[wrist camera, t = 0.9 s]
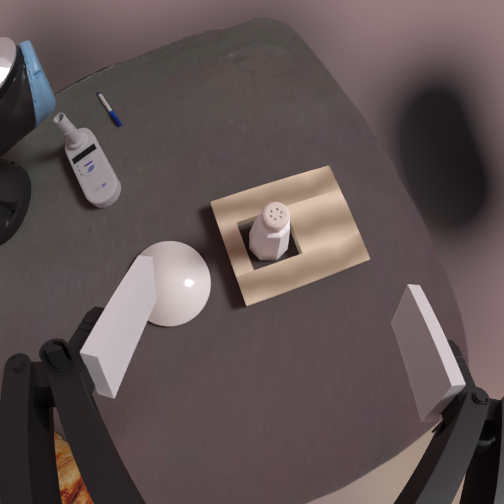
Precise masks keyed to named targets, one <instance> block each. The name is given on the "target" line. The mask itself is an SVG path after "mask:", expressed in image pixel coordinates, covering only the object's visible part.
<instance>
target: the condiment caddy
mask: <svg viewBox="0 0 504 504" xmlns="http://www.w3.org/2000/svg"><path fill="white" fill-rule="evenodd" d="M271 202H279V203H282V204H284V205H285V206H286V207H287V208H288V210H289V213H290V232H291V235H292V237H293V240H294V242H295V245H296V247H297V250H298V252H299V255H297V256H294V257H291V258H288V259H285V260H283V261H280V262H277V263H274V264H271V265H268V266H266V267H263V268H260V269H257V270H253V267H252V265H251V262H250V259H249V256H248V254H247V251H246V248H245V245H244V243H243V240H242V237H241V234H240V232H239V229H238V226H241V225H244V224H247V223H250V222H253V221H255V220H256V218H257V216H258V215H259V214H260V213H261V212H262V211H263V208H264V207H265V206H266V205H267V204H269V203H271ZM210 203H211V206H212V209H213V212H214V215H215V218H216V221H217V224H218V227H219V230H220V233H221V236H222V239H223V241H224V244H225V247H226V250H227V253H228V256H229V259H230V262H231V264H232V267H233V270H234V273H235V276H236V279H237V281H238V284H239V287H240V290H241V293H242V295H243V298H244V301H245V304H246V307H247V306H250V305H253V304H256V303H258V302H261V301H264V300H267V299H269V298H272V297H275V296H278V295H280V294H283V293H286V292H289V291H291V290H294V289H297V288H299V287H302V286H305V285H307V284H310V283H313V282H315V281H318V280H320V279H323V278H326V277H328V276H331V275H333V274H336V273H338V272H341V271H344V270H346V269H349V268H351V267H354V266H356V265H359V264H361V263H364V262H366V261H368V260H369V259H370V258H369V255H368V253H367V250H366V248H365V245H364V243H363V240H362V238H361V236H360V233H359V231H358V229H357V226H356V224H355V222H354V219H353V217H352V215H351V212H350V210H349V208H348V206H347V203H346V201H345V199H344V197H343V195H342V192H341V190H340V188H339V186H338V184H337V182H336V180H335V178H334V175H333V173H332V171H331V169H330V167H329V166H326V167H322V168H319V169H315V170H312V171H308V172H305V173H301V174H298V175H294V176H291V177H288V178H284V179H281V180H278V181H274V182H271V183H268V184H265V185H261V186H258V187H255V188H252V189H249V190H246V191H243V192H239V193H236V194H233V195H230V196H227V197H224V198H221V199H218V200H215V201H212V202H210Z"/></svg>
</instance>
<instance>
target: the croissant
mask: <svg viewBox="0 0 504 504" xmlns="http://www.w3.org/2000/svg"><path fill="white" fill-rule="evenodd" d="M54 440H55V452H56V463H57V472H58V480H59V487H60V493H61V500H62V503H63V504H94V503H93V501H92V499H91V497H90V495H89V493H88V491H87V488H86V486H85V484H84V482H83V479H82V477H81V475H80V472H79V470H78V467H77V465H76V463H75V460H74V457H73V455H72V452H71V450H70V447H69V444H68V442H66V441H63V440H62V437H61V436H60V435H58V434H57V433H56V432H54Z"/></svg>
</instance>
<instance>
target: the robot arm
mask: <svg viewBox="0 0 504 504" xmlns="http://www.w3.org/2000/svg"><path fill="white" fill-rule="evenodd" d="M55 105H56V101H55V98H54V95H53V93H52V90H51V88H50V86H49V83H48V81H47V79H46V76H45V74H44V72H43V69H42V67H41V65H40V63H39V60H38V58H37V56H36V53H35V51H34V49H33V47H32V44H31V43H30V41H24V42H21V43H19V44H18V46H16V45H15V43H14V42H13V41H12V40H11V39H10V38H7V37H1V38H0V157H1V156H2V155H4V154H5V153H6V152H7V151H8V150H9V149H10V148H12V147H13V146H14V145H15V144H16V143H17V142H19V141H20V140H21V139H22V138H23V137H25V136H26V135H27V134H28V133H30V132H31V131H32V130H33V129H35V128H37V127H38V126H39V124H40V123H41V122H42V121H43V120H44V119H46V118H47V117H48V116H49V115H50V114H51V113H52V112H53V110H54V109H55ZM30 197H31V183H30V178H29V176H28V173H27V172H26V171H25V170H24V169H23V168H22V167H21V166H20V165H18V164H17V163H15V162H13V161H9V160H4V159H0V245H1V244H3V243H5V242H6V241H7V240H9V239H10V238H11V237H12V236H13V235H14V234H15V232H16V231H17V230H18V228H19V227H20V225H21V223H22V221H23V219H24V217H25V215H26V212H27V210H28V206H29V202H30ZM156 301H157V295H156V287H155V277H154V268H153V257H149V256H141V255H138V257H137V258H136V260H135V261H134V263H133V264H132V266H131V267H130V269H129V271H128V272H127V274H126V275H125V277H124V278H123V280H122V282H121V283H120V285H119V286H118V288H117V290H116V291H115V293H114V294H113V296H112V298H111V299H110V301H109V303H108V304H107V306H106V308H101V307H96V306H95V307H94V308H93V309H91V310H90V311H89V312H87V313H86V315H85V317H84V318H83V320H82V323H80V325H79V326H78V329H76V331H75V333H74V334H73V336H72V338H71V339H70V341H69V343H67V342H66V341H64V340H63V339H51V340H49V341H47V342H46V343H44V344H43V345H42V347H41V349H40V351H39V357H40V359H41V360H42V362H31V360H30V359H29V357H28V356H27V355H25V354H21V353H19V354H15V355H13V356H11V357H10V358H9V359H8V360H7V362H6V364H5V368H4V375H3V383H2V392H1V401H0V504H62V500H61V493H60V487H59V480H58V472H57V463H56V452H55V440H54V422H53V407H56V408H57V411H58V414H59V417H60V421H61V424H62V427H63V430H64V433H65V436H66V438H67V441H68V444H69V447H70V450H71V452H72V455H73V457H74V460H75V463H76V465H77V467H78V470H79V472H80V475H81V477H82V479H83V482H84V484H85V486H86V488H87V491H88V493H89V495H90V497H91V499H92V501H93V503H94V504H146V503H145V501H144V500H143V498H142V496H141V495H140V493H139V491H138V489H137V488H136V486H135V484H134V482H133V481H132V479H131V477H130V475H129V473H128V471H127V470H126V468H125V466H124V464H123V462H122V460H121V458H120V456H119V454H118V452H117V450H116V448H115V446H114V444H113V442H112V439H111V437H110V435H109V433H108V431H107V429H106V426H105V424H104V422H103V420H102V417H101V415H100V413H99V410H98V408H97V405H96V403H95V400H94V398H93V396H92V392H93V390H94V388H96V390H97V392H98V394H100V395H103V396H107V397H110V398H114V399H115V396H116V394H117V391H118V389H119V386H120V384H121V381H122V379H123V376H124V374H125V371H126V369H127V367H128V364H129V362H130V360H131V357H132V355H133V352H134V350H135V348H136V345H137V343H138V341H139V339H140V336H141V334H142V332H143V329H144V327H145V325H146V323H147V320H148V318H149V316H150V314H151V311H152V309H153V307H154V305H155V303H156ZM391 325H392V328H393V331H394V334H395V337H396V340H397V343H398V346H399V349H400V352H401V355H402V358H403V361H404V364H405V367H406V371H407V374H408V377H409V381H410V384H411V387H412V391H413V394H414V398H415V402H416V405H417V409H418V413H419V417H420V420H421V422H428V421H435V420H436V419H437V417H438V416H439V415H440V414H442V418H443V420H442V421H441V422H440V423H439V424H438V425H437V426H436V427H435V428H434V430H433V431H432V433H433V432H435V431H436V432H435V434H434V436H433V438H432V440H431V442H430V444H429V446H428V447H427V449H426V451H425V453H424V455H423V457H422V459H421V460H420V462H419V464H418V466H417V467H416V469H415V471H414V473H413V474H412V476H411V478H410V479H409V481H408V483H407V484H406V486H405V487H404V489H403V491H402V492H401V493H400V495H399V497H398V498H397V499H396V501H395V503H394V504H451V503H452V501H453V499H454V497H455V495H456V493H457V491H458V489H459V487H460V484H461V482H462V480H463V477H464V475H465V473H466V476H465V480H464V485H463V490H462V494H461V499H460V503H459V504H504V397H503V398H502V399H501V400H496V399H491V398H489V396H488V394H487V393H486V392H485V391H484V390H483V389H481V388H479V387H476V386H475V383H474V381H473V379H472V377H471V374H470V372H469V369H468V367H467V365H466V364H465V360H464V358H463V357H462V354H461V351H460V349H459V347H458V346H457V345H456V344H455V343H454V342H453V341H452V340H447V339H446V337H445V335H444V333H443V331H442V329H441V327H440V324H439V322H438V320H437V318H436V316H435V314H434V312H433V310H432V308H431V306H430V304H429V302H428V300H427V298H426V296H425V295H424V293H423V291H422V289H421V287H420V285H410V284H408V285H407V287H406V290H405V292H404V294H403V297H402V299H401V301H400V304H399V306H398V308H397V310H396V313H395V315H394V317H393V319H392V321H391Z"/></svg>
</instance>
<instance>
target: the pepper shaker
mask: <svg viewBox="0 0 504 504" xmlns="http://www.w3.org/2000/svg"><path fill="white" fill-rule="evenodd" d="M289 234H290V213H289V210H288V208H287V207H286V206H285V205H284V204H282V203H279V202H271V203H269V204H267V205H266V206H265V207H264V208H263V211H262V212H261V213H260V214H259V215H258V216H257V218H256V220H255V222H254V224H253V226H252V228H251V231H250V233H249V249H250V250H251V251H252V252H253V253H254V254H255V255H256V256H257V257H258V258H259V259H260V260H277V259H278V258H279V257H280V256H281V255H282V254H283V253H285V252H286V251H287V250H288V242H289Z"/></svg>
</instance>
